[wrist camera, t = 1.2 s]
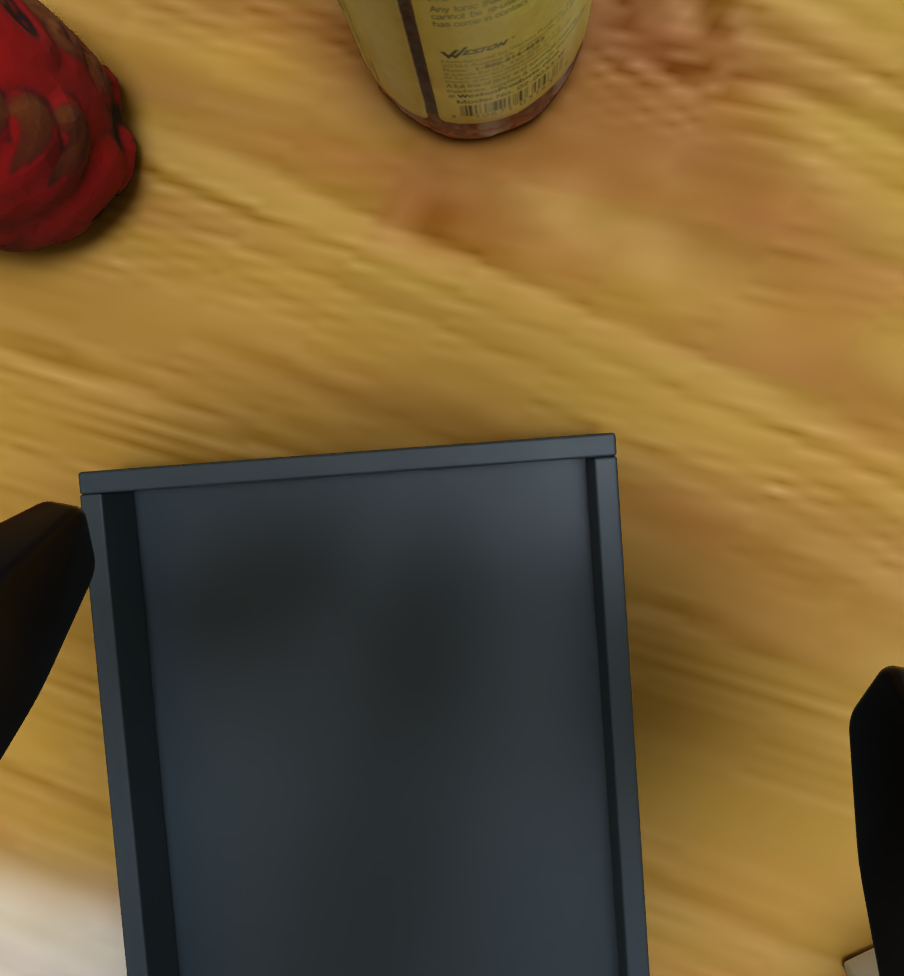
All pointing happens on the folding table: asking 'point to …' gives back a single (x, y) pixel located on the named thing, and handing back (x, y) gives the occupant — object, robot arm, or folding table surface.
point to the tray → (371, 712)
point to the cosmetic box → (862, 964)
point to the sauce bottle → (469, 57)
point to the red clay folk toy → (55, 131)
